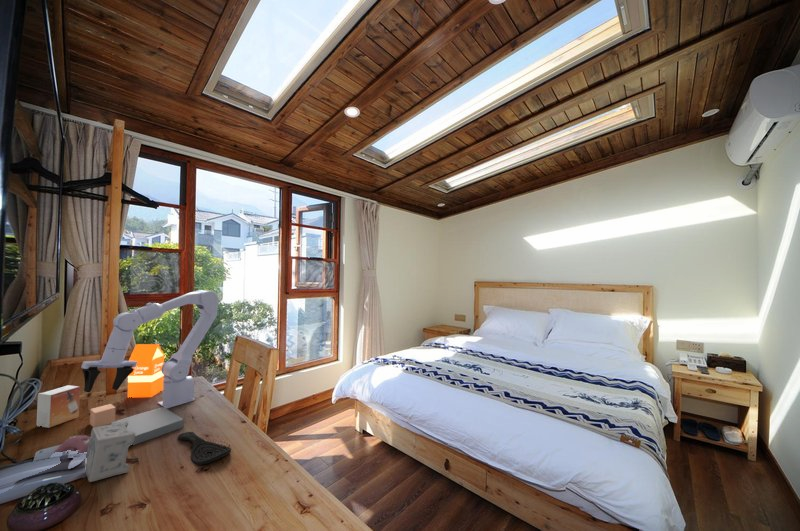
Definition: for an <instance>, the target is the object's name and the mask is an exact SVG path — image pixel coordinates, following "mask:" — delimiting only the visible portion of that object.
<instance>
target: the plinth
mask: <svg viewBox="0 0 800 531" xmlns="http://www.w3.org/2000/svg"><path fill="white" fill-rule="evenodd" d="M123 422H128V426H127V430H128V431H129V432H135V440H134V442H133V446H135V445H137V444H141V443H144V442H146V441H149V440H151V439H152V440H153V439H154V438H157V437H160V436H163V435H165V434H167V433H171V432H174V431H176V430H179V429H182V428H184V419H183V418H182V417H180V416H178V414H176V413H174V412H172V411H171V410H169V408H167V409H166V408H165V407H163V406H161V407H158V408H155V409H151V410H147V411H144V412H140V413H137V414H134V415H131V416H128V417H124V418H121V419H117V420H115V421H114V422H110V424H109V425H111V424H116V423H123Z"/></svg>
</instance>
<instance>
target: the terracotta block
mask: <svg viewBox="0 0 800 531" xmlns="http://www.w3.org/2000/svg"><path fill="white" fill-rule="evenodd" d="M89 413H90V414H89V415H90V417H89V420H90V421H89V424H90V426H91V427H92V428H93V427H99V426H105V425H110V422H114V421H116V406H115V405H113V404H112V403H109V404H105V405H100V406H97V407H93V408H90V412H89Z"/></svg>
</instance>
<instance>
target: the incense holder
mask: <svg viewBox="0 0 800 531" xmlns="http://www.w3.org/2000/svg"><path fill="white" fill-rule="evenodd" d="M127 426H128V422H123V423H116V424H111V425H110V424H108V425H105V426H99V427H92V429H91V432H90V436H89V437H90V441H89V446H88V450H87V454H86V458H87V464H86V470H85V473H86V477H87V480H88V482H89V483H92V482H97V481H99V480H103V479H107V478H110V477H114V476H117V475H122V474H128V473H129V471H130V465H129V464H128V463H127V458H128V457H127V456H128V452H129V445H131V444H133V442H134V440H135V432H129V431H128V430H127Z"/></svg>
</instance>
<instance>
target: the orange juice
mask: <svg viewBox="0 0 800 531" xmlns="http://www.w3.org/2000/svg"><path fill="white" fill-rule="evenodd" d="M128 361H136V362H137V364H136V367H132V368H133V369H134V370H133V372H132V373H131V374H130V375H129V376H128V377H127V398H128V399H129V397H130V398H131V397H132V399H133V398H153V397H155V395H158V394H159V393H161V392H163V379H164V377H165V375H164V374H163V373H162V371H161V369H162V366H163V364H164V363H165V354H164V352H163V350H162V349H161V346H160V344H159V343H157V344H156V343H155V344H153V343H151V344H149V343H148V344H146V343H145V344H144V343H143V344H139V343H138V344H135V346H134V348H133V351H132V352H131V355H130V357H129V359H128ZM160 391H161V392H160Z"/></svg>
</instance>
